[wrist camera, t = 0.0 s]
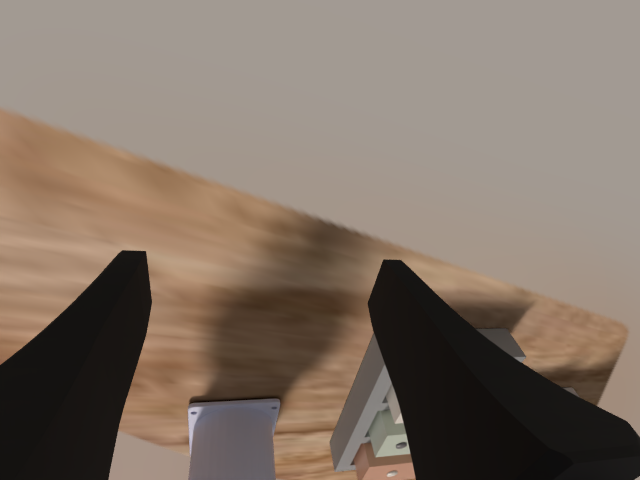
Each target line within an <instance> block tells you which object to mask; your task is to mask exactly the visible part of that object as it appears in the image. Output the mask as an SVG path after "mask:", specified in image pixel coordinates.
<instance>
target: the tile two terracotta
mask: <svg viewBox="0 0 640 480" xmlns="http://www.w3.org/2000/svg"><path fill="white" fill-rule="evenodd" d="M354 463H355V468H356V472H357V477H358V480H405V479H414V478H415V473H414V467H413V463H412V458H411V454H404V455H394V456H384V457H375V455H374V451H373V447H372V444H371V443H361V445H360V447H359V449H358V451H357V453H356V455H355V457H354Z"/></svg>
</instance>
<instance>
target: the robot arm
mask: <svg viewBox="0 0 640 480" xmlns="http://www.w3.org/2000/svg"><path fill="white" fill-rule="evenodd" d="M151 304H152V299H151V290H150V281H149V273H148V264H147V256H146V251H125V250H122V251H121V252H120V253H119V254H118V255H117V256H116V257H115V258H114V259H113V260H112V261H111V263H110V264H109V265H108V266H107V267H106V268H105V269H104V270H103V272H102V273H101V274H100V275H99V276H98V277H97V278H96V279H95V280H94V281H93V282H92V283H91V285H90V286H89V287H88V288H87V289H86V290H85V291H84V292H83V293H82V294H81V295H80V296H79V297H78V298H77V299H76V300H75V301H74V302H73V303H72V304H71V305H70V306H69V307H68V308H67V309H66V310H65V311H63V312H62V313H61V314H60V315H59V316H58V317H57V318H56V319H55V320H54V321H53V322H51V323H50V324H49V325H48V326H47V327H46V328H45V329H44V330H43V331H42V332H40V333H39V334H38V335H37V336H36V337H35V338H33V339H32V340H31V341H30V342H29V343H27V344H26V345H25V346H24V347H23V348H21V349H20V350H19V351H18V352H16V353H15V354H14V355H13V356H11V357H10V358H9V359H8V360H6V361H5V362H4V363H2V364H1V365H0V480H108V478H109V473H110V467H111V462H112V457H113V452H114V447H115V443H116V438H117V433H118V428H119V423H120V420H121V416H122V412H123V408H124V405H125V402H126V398H127V395H128V392H129V389H130V386H131V382H132V379H133V376H134V373H135V369H136V366H137V363H138V360H139V357H140V353H141V350H142V347H143V343H144V340H145V337H146V333H147V327H148V322H149V316H150V310H151ZM368 308H369V313H370V318H371V323H372V327H373V331H374V334H375V337H376V340H377V343H378V346H379V349H380V352H381V355H382V357H383V360H384V363H385V366H386V369H387V371H388V374H389V377H390V380H391V383H392V385H393V388H394V391H395V394H396V397H397V400H398V404H399V407H400V411H401V415H402V419H403V423H404V427H405V431H406V435H407V440H408V445H409V449H410V454H411V458H412V463H413V467H414V473H415V478H416V480H634V479H636V478H637V477H639V476H640V437H639V436H638V434H637V433H636V432H635V431H634V429H633V428H632V427H631V425H630V424H629V423H628V422H627V421H625V420H623V419H621V418H619V417H617V416H615V415H613V414H611V413H609V412H607V411H605V410H603V409H601V408H599V407H597V406H595V405H593V404H591V403H589V402H587V401H585V400H583V399H581V398H580V397H578V396H576V395H574V394H572V393H571V392H569V391H567V390H565V389H564V388H562V387H560V386H558V385H556V384H555V383H553V382H551V381H550V380H548V379H546V378H545V377H543V376H541V375H540V374H538V373H537V372H535V371H534V370H532V369H530V368H529V367H527V366H526V365H524V364H523V363H521V362H520V361H518V360H517V359H515V358H514V357H512V356H511V355H509V354H508V353H507V352H505V351H504V350H502V349H501V348H500V347H498V346H497V345H496V344H494V343H493V342H492V341H490V340H489V339H488V338H486V337H485V336H484V335H482V334H481V333H480V332H479V331H477V330H476V329H475V328H474V327H473V326H471V325H470V324H469V323H468V322H467V321H466V320H464V319H463V318H462V317H461V316H460V315H459V314H457V313H456V312H455V311H454V310H453V309H452V308H451V307H450V306H449V305H448V304H446V303H445V302H444V301H443V300H442V299H441V298H440V297H439V296H438V295H437V294H436V293H435V292H434V291H433V290H432V289H431V288H430V287H429V286H428V285H427V284H425V283H424V282H423V281H422V280H421V279H420V278H419V277H418V276H417V275H416V274H415V273H414V272H413V271H412V270H411V269H410V268H409V267H408V266H407V265H406V264H405V263H403V262H402V261H401V260H383V262H382V265H381V268H380V271H379V273H378V276H377V279H376V282H375V284H374V287H373V290H372V293H371V295H370V298H369V301H368ZM279 408H280V400H279V399H276V398H274V399H256V400H238V401H220V402H202V403H192V404H190V405H189V406H188V424H189V445H190V456H191V459H190V469H189V479H188V480H276V478H275V462H274V446H273V435H274V431H275V426H276V422H277V417H278V412H279Z"/></svg>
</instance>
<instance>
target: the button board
mask: <svg viewBox="0 0 640 480" xmlns="http://www.w3.org/2000/svg"><path fill="white" fill-rule="evenodd" d="M476 330H477V331H479V332H480V333H481V334H482V335H484V336H485V337H486V338H488V339H489V340H490V341H492V342H493V343H494V344H496V345H497V346H498V347H500V348H501V349H502V350H504V351H505V352H507V353H508V354H509V355H511V356H512V357H514V358H515V359H517V360H518V361H520V362H521V363H522V361H523V360H524V359H525V358H526V356H525V354H524V353H523V351H522V350H521V348H520V347H519V345H518V344H517V343H516V341H515V340H514V338H513V337H512V335H511V334H510V332H509V331H508V330H507V328H493V329H476ZM391 384H392V383H391V380H390V377H389V374H388V371H387V369H386V366H385V363H384V360H383V357H382V355H381V352H380V349H379V346H378V343H377V340H376V337H375V334H373V337H372V339H371V342H370V344H369V346H368V349H367V351H366V354H365V356H364V359H363V361H362V364H361V366H360V369H359V371H358V374H357V376H356V379H355V381H354V384H353V386H352V388H351V391H350V393H349V396H348V398H347V401H346V403H345V406H344V408H343V411H342V413H341V416H340V418H339V421H338V423H337V426H336V428H335V430H334V433H333V435H332V438H331V440H330V448H331V453H332V459H333V465H334V470H335V472H338V471H347V470H356V468H355V463H354V457H355V455H356V453H357V451H358V449H359V447H360V445H361V443H371V440H370V436H369V432H368V429H369V427H370V425H371V423H372V421H373V419H374V417H375V415H376V413H377V411H382V410H390V408H389V404H388V401H387V398H386V394H387V392H388V390H389V388H390V386H391Z"/></svg>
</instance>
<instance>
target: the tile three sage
mask: <svg viewBox="0 0 640 480" xmlns="http://www.w3.org/2000/svg"><path fill="white" fill-rule="evenodd" d="M368 432H369V436H370V440H371V444H372V447H373V451H374V455H375V457H384V456H394V455H404V454H410V449H409V445H408V440H407V435H406V431H405V427H404V423H397V424H395V423H394V420H393V417H392V414H391V411H390V410H382V411H377V413H376V415H375V417H374V419H373V421H372V423H371V425H370V427H369V429H368Z"/></svg>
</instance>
